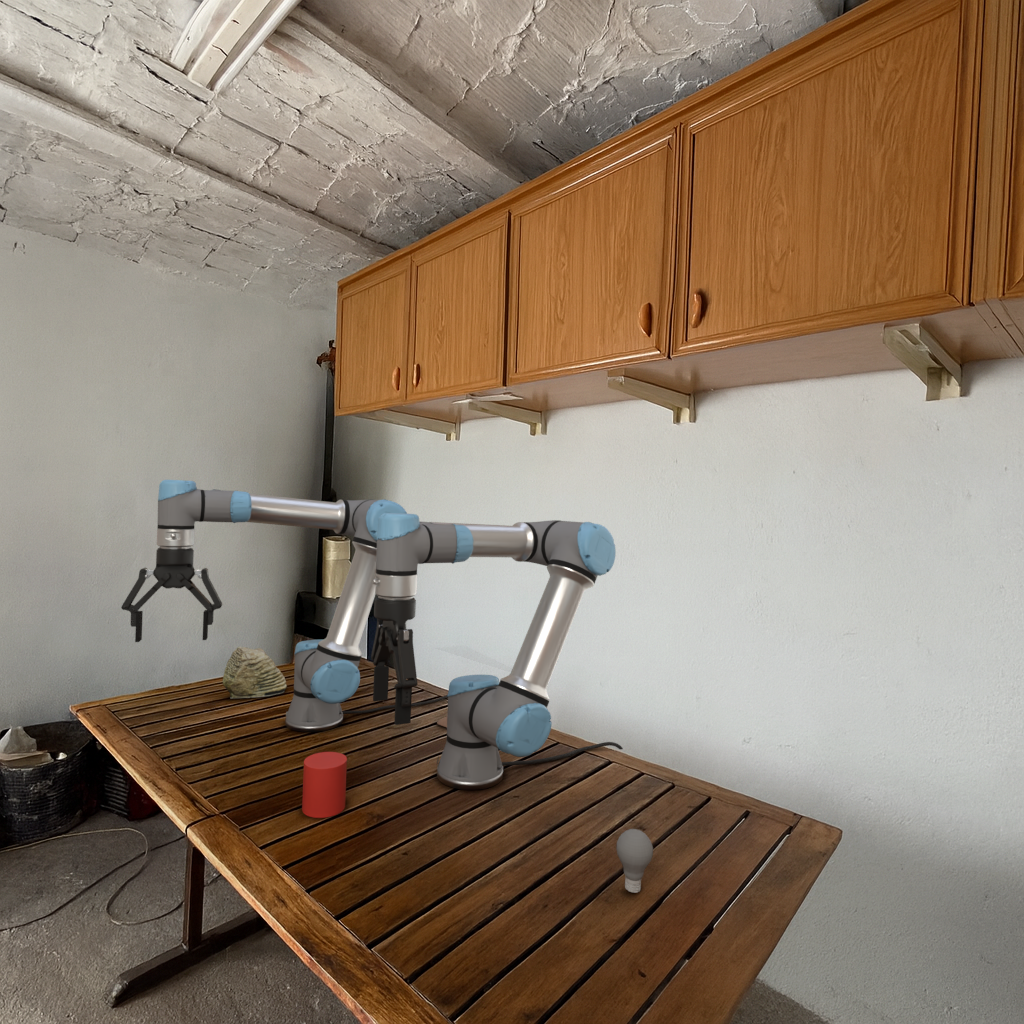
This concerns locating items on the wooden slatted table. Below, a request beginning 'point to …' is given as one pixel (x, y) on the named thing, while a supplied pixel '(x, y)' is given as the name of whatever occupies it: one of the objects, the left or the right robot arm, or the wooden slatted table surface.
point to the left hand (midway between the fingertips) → (172, 640)
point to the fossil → (252, 674)
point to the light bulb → (634, 857)
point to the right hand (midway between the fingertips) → (390, 711)
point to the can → (324, 784)
